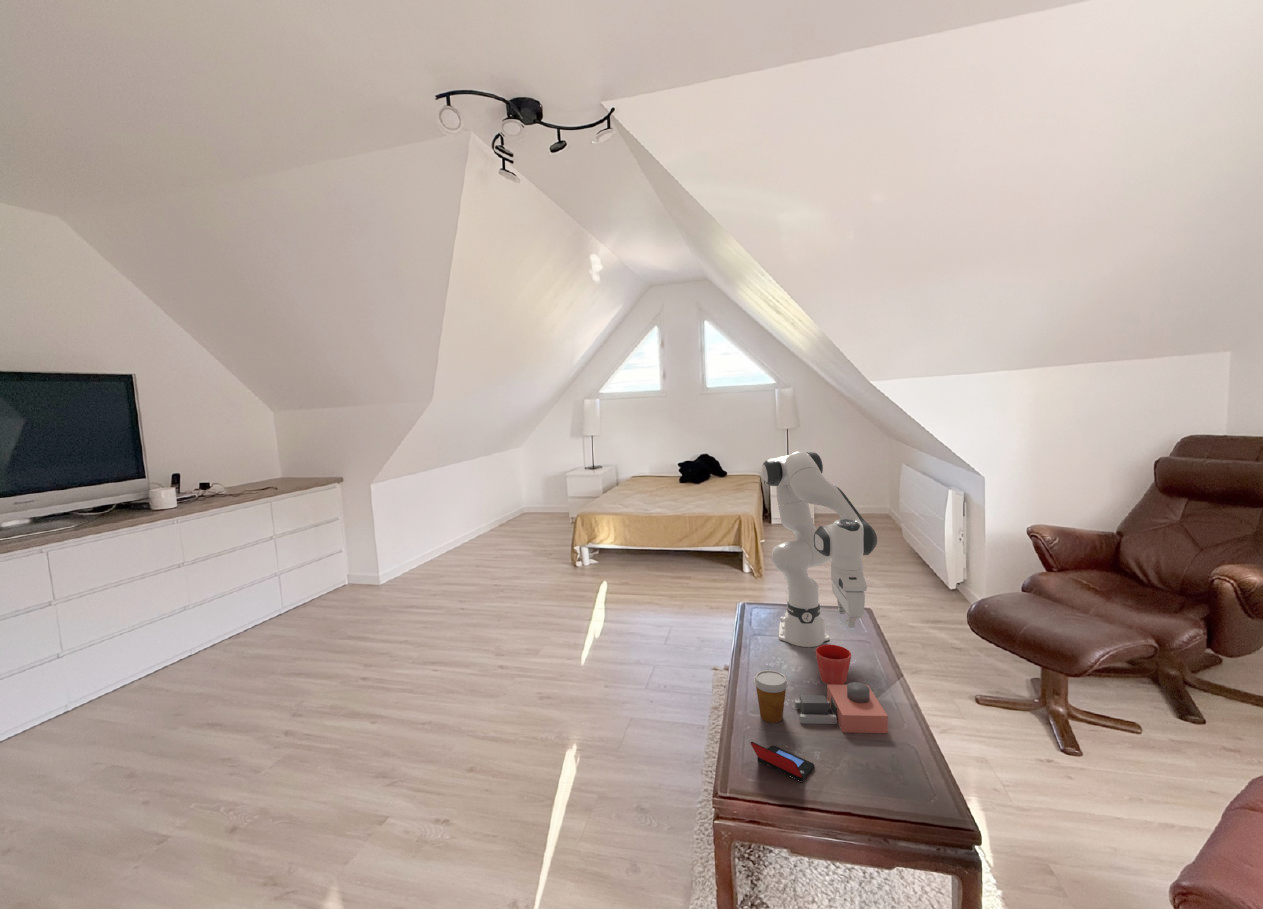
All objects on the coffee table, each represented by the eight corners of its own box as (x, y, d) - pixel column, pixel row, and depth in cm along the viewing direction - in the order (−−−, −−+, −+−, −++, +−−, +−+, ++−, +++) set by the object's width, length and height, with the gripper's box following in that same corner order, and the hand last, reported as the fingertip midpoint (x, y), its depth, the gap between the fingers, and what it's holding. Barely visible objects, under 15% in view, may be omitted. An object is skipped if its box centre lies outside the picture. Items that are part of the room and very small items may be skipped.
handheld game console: (816, 768, 134) (816, 740, 134) (795, 791, 127) (795, 762, 126) (771, 747, 143) (771, 721, 142) (749, 768, 135) (749, 740, 135)
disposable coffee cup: (789, 709, 159) (788, 671, 158) (787, 728, 150) (786, 688, 149) (756, 705, 162) (755, 667, 161) (753, 723, 154) (752, 683, 152)
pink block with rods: (792, 699, 165) (791, 674, 164) (868, 700, 162) (868, 675, 162) (803, 731, 149) (803, 704, 148) (887, 733, 146) (887, 705, 146)
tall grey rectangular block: (800, 711, 159) (800, 695, 158) (824, 711, 158) (824, 695, 157) (803, 719, 155) (803, 702, 154) (828, 719, 154) (828, 703, 154)
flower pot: (854, 689, 169) (854, 660, 168) (818, 687, 171) (817, 658, 170) (847, 672, 179) (847, 644, 178) (813, 670, 181) (813, 643, 180)
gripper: (827, 563, 168) (826, 605, 170) (845, 587, 148) (844, 635, 150) (847, 563, 167) (847, 605, 169) (869, 587, 147) (868, 635, 149)
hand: (846, 619), depth 159 cm, fingers open, 8 cm apart
